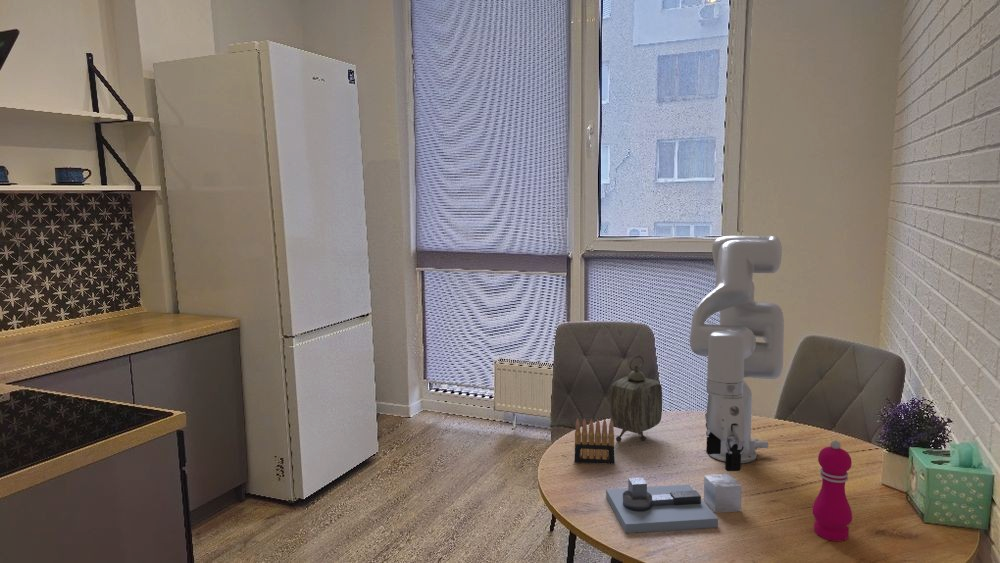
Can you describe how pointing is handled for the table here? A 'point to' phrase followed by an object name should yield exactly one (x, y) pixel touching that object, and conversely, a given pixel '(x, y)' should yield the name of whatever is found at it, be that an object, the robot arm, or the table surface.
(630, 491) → the ratchet
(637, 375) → the tabletop clock
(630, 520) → the slate board
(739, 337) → the robot arm
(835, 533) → the pepper mill
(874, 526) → the table surface
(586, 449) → the ammunition clip
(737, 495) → the matte grey cube
